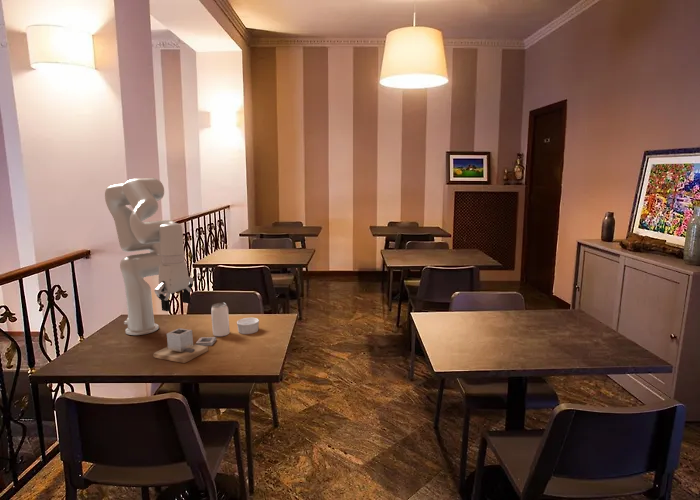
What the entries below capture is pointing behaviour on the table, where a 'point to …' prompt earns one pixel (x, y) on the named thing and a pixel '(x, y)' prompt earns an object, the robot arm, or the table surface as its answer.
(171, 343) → the link
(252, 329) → the ramekin
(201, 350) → the base
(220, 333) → the can
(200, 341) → the link
